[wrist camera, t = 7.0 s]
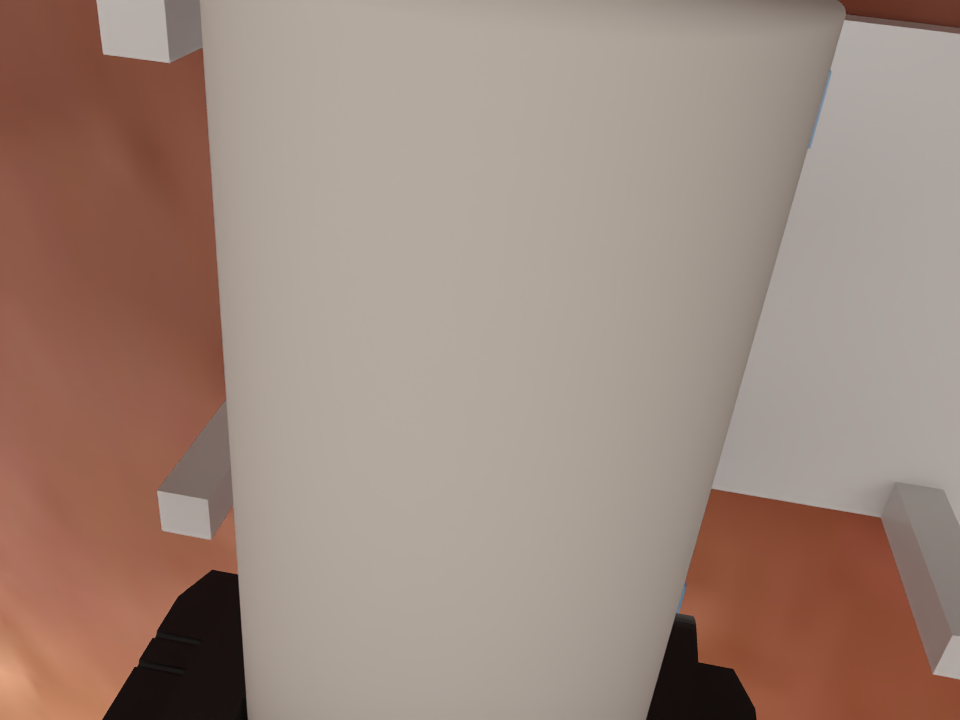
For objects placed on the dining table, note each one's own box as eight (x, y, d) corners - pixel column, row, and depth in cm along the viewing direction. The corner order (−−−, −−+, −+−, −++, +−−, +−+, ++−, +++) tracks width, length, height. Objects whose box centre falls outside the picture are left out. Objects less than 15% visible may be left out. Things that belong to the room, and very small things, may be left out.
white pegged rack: (1523, 94, 17) (1883, 203, 12) (1188, 588, 24) (1331, 790, 19) (237, -59, 20) (93, -22, 15) (259, 427, 27) (166, 568, 22)
